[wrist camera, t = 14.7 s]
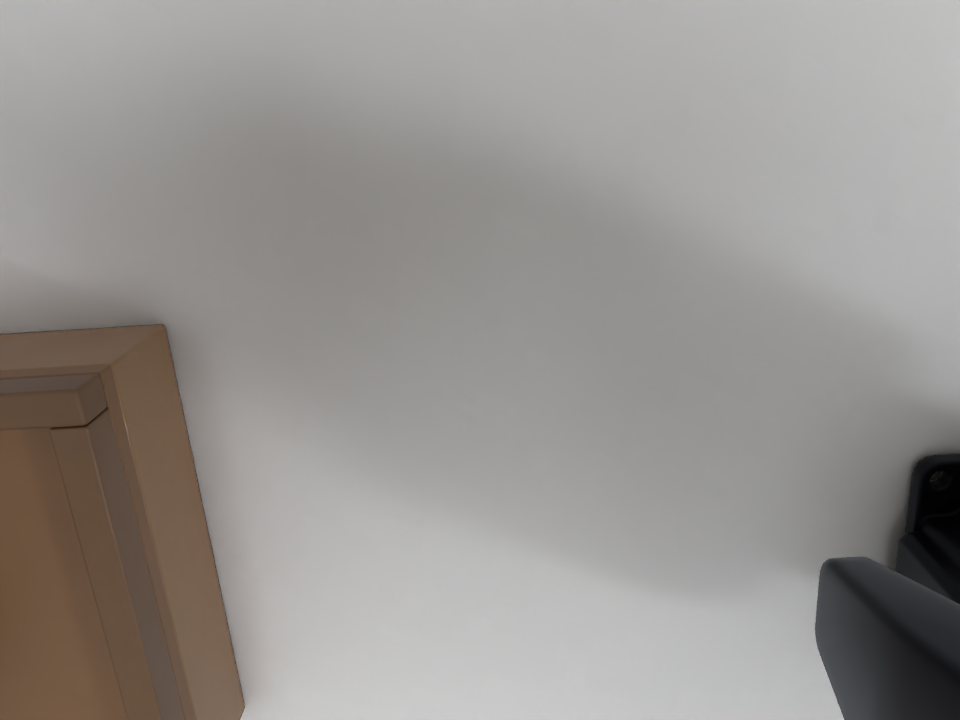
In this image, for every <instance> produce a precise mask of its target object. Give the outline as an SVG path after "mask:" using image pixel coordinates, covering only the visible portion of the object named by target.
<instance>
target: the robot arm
mask: <svg viewBox="0 0 960 720" xmlns="http://www.w3.org/2000/svg"><path fill="white" fill-rule="evenodd" d="M939 471H942V473H941V476H940V477H939V478H938V479H937V480H934V481H930V479H931V477H932V475H933V474H935V473H936V472H939ZM815 634H816V641H817V646H818V650H819V653H820V656H821V658H822V661H823V664H824V666H825V669H826V672H827V674H828V677H829V680H830V682H831V685H832V688H833V690H834V693H835V696H836V698H837V701H838V704H839V706H840V709H841V712H842V714H843V717H844V720H960V454H947V455H933V456H929V457H926V458H924V459H922V460H921V461H919V463H918V464H917V465H916V466H915V468H914V471H913V473H912V481H911V489H910V497H909V505H908V513H907V521H906V529H905V533H904V534H903V535H902V537H901V538H900V540H899V542H898V550H897V558H896V566H895V571H893V570H891V569H889V568H887V567H886V566H884V565H882V564H880V563H878V562H876V561H874V560H872V559H870V558H867V557H847V558H830V559H828V560H826V561H825V562H824V563H823V565H822V567H821V570H820V577H819V588H818V599H817V611H816V622H815Z"/></svg>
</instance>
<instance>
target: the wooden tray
mask: <svg viewBox="0 0 960 720" xmlns="http://www.w3.org/2000/svg"><path fill="white" fill-rule="evenodd" d="M244 708H245V706H244V701H243V697H242V692H241V687H240V682H239V677H238V673H237V668H236V663H235V658H234V654H233V649H232V644H231V639H230V634H229V630H228V625H227V620H226V615H225V610H224V606H223V601H222V596H221V591H220V587H219V582H218V577H217V572H216V567H215V563H214V558H213V553H212V548H211V544H210V539H209V534H208V529H207V524H206V520H205V515H204V510H203V505H202V500H201V496H200V491H199V486H198V481H197V477H196V472H195V467H194V462H193V457H192V453H191V448H190V443H189V438H188V433H187V429H186V424H185V419H184V414H183V410H182V405H181V400H180V395H179V390H178V386H177V381H176V376H175V371H174V367H173V362H172V357H171V352H170V347H169V343H168V338H167V333H166V328H165V326H164V325H161V324H160V325H145V326H129V327H113V328H97V329H81V330H65V331H49V332H34V333H18V334H2V335H0V720H240V718H241V716H242V713H243V711H244Z"/></svg>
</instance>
